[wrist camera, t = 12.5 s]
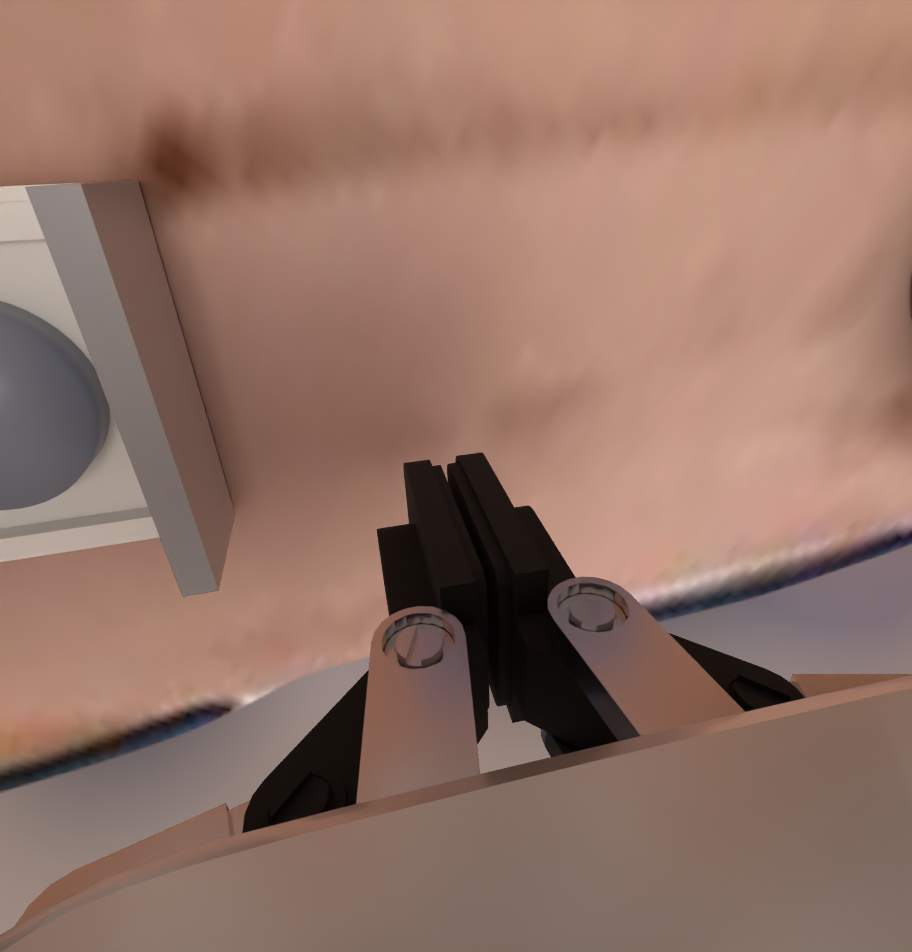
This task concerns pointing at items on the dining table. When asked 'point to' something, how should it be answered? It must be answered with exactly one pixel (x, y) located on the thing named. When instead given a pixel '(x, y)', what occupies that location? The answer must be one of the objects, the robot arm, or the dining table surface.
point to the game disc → (45, 410)
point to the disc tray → (117, 381)
